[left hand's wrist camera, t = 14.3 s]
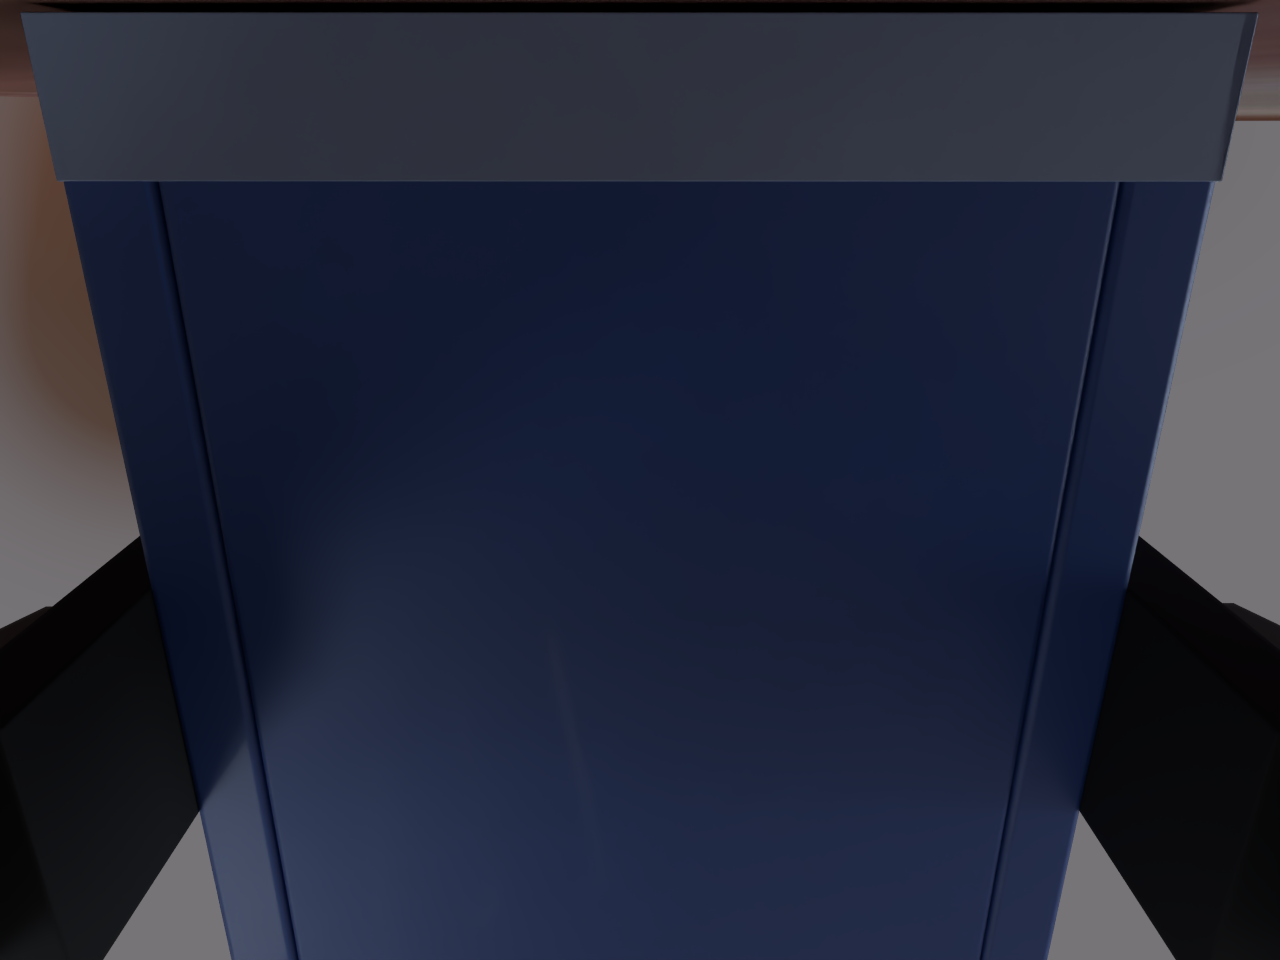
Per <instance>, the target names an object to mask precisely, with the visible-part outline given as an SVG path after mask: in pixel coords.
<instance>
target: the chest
mask: <svg viewBox="0 0 1280 960" xmlns="http://www.w3.org/2000/svg"><path fill="white" fill-rule="evenodd" d="M20 14H21V19H22V23H23V28H24V33H25V37H26V42H27V46H28V51H29V55H30V60H31V65H32V69H33V74H34V78H35V83H36V88H37V92H38V97H39V101H40V106H41V110H42V115H43V120H44V124H45V129H46V133H47V138H48V142H49V147H50V152H51V156H52V161H53V165H54V170H55V175H56V179H57V181H64V185H65V190H66V195H67V199H68V204H69V208H70V213H71V218H72V222H73V227H74V232H75V236H76V241H77V246H78V250H79V255H80V259H81V264H82V269H83V273H84V278H85V283H86V287H87V292H88V296H89V301H90V306H91V310H92V315H93V320H94V324H95V329H96V334H97V338H98V343H99V347H100V352H101V357H102V361H103V366H104V371H105V375H106V380H107V384H108V389H109V394H110V398H111V403H112V408H113V412H114V417H115V422H116V426H117V431H118V435H119V440H120V445H121V449H122V454H123V459H124V463H125V468H126V473H127V477H128V482H129V486H130V491H131V496H132V500H133V505H134V510H135V514H136V519H137V523H138V528H139V533H140V537H141V542H142V547H143V551H144V556H145V561H146V565H147V570H148V574H149V579H150V584H151V588H152V593H153V598H154V602H155V607H156V611H157V616H158V621H159V625H160V630H161V635H162V639H163V644H164V649H165V653H166V658H167V662H168V667H169V672H170V676H171V681H172V686H173V690H174V695H175V699H176V704H177V709H178V713H179V718H180V723H181V727H182V732H183V737H184V741H185V746H186V750H187V755H188V760H189V764H190V769H191V774H192V778H193V783H194V788H195V792H196V797H197V801H198V806H199V811H200V815H201V820H202V825H203V829H204V834H205V838H206V843H207V848H208V852H209V857H210V861H211V866H212V871H213V875H214V880H215V884H216V889H217V894H218V899H219V903H220V908H221V913H222V917H223V922H224V926H225V931H226V936H227V940H228V945H229V950H230V954H231V959H232V960H1047V957H1048V953H1049V948H1050V943H1051V939H1052V934H1053V929H1054V925H1055V920H1056V916H1057V911H1058V906H1059V902H1060V897H1061V893H1062V888H1063V883H1064V879H1065V874H1066V869H1067V865H1068V860H1069V855H1070V851H1071V846H1072V842H1073V837H1074V832H1075V828H1076V823H1077V818H1078V814H1079V809H1080V805H1081V800H1082V795H1083V791H1084V786H1085V781H1086V777H1087V772H1088V768H1089V763H1090V758H1091V754H1092V749H1093V744H1094V740H1095V735H1096V731H1097V726H1098V721H1099V717H1100V712H1101V707H1102V703H1103V698H1104V694H1105V689H1106V684H1107V680H1108V675H1109V670H1110V666H1111V661H1112V657H1113V652H1114V647H1115V643H1116V638H1117V633H1118V629H1119V624H1120V619H1121V615H1122V610H1123V606H1124V601H1125V596H1126V592H1127V587H1128V582H1129V578H1130V573H1131V569H1132V564H1133V559H1134V555H1135V550H1136V545H1137V541H1138V536H1139V532H1140V527H1141V522H1142V518H1143V513H1144V508H1145V504H1146V499H1147V495H1148V490H1149V485H1150V481H1151V476H1152V471H1153V467H1154V462H1155V457H1156V453H1157V448H1158V443H1159V439H1160V434H1161V430H1162V425H1163V420H1164V416H1165V411H1166V407H1167V402H1168V397H1169V393H1170V388H1171V383H1172V379H1173V374H1174V370H1175V365H1176V360H1177V356H1178V351H1179V346H1180V342H1181V337H1182V332H1183V328H1184V323H1185V319H1186V314H1187V309H1188V305H1189V300H1190V296H1191V291H1192V286H1193V282H1194V277H1195V272H1196V268H1197V263H1198V259H1199V254H1200V249H1201V245H1202V240H1203V235H1204V231H1205V226H1206V222H1207V217H1208V212H1209V208H1210V203H1211V198H1212V194H1213V189H1214V185H1215V182H1220V181H1222V178H1223V174H1224V169H1225V165H1226V160H1227V155H1228V151H1229V146H1230V142H1231V137H1232V132H1233V128H1234V123H1235V119H1236V114H1237V110H1238V105H1239V101H1240V96H1241V91H1242V87H1243V82H1244V78H1245V73H1246V69H1247V64H1248V59H1249V55H1250V50H1251V46H1252V41H1253V37H1254V32H1255V27H1256V23H1257V18H1258V13H1257V12H21V13H20Z"/></svg>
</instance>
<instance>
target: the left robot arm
mask: <svg viewBox="0 0 1280 960" xmlns="http://www.w3.org/2000/svg"><path fill="white" fill-rule="evenodd" d="M1079 811H1080V812H1081V814H1082V815H1083V817H1084V819H1085V820H1086V822H1087V823H1088V825H1089V826H1090V828H1091V829H1092V831H1093V832H1094V834H1095V836H1096V837H1097V839H1098V840H1099V842H1100V843H1101V845H1102V846H1103V848H1104V849H1105V851H1106V853H1107V854H1108V856H1109V857H1110V859H1111V860H1112V862H1113V863H1114V865H1115V866H1116V868H1117V869H1118V871H1119V873H1120V874H1121V876H1122V877H1123V879H1124V880H1125V882H1126V883H1127V885H1128V887H1129V888H1130V890H1131V891H1132V893H1133V894H1134V896H1135V897H1136V899H1137V900H1138V902H1139V904H1140V905H1141V907H1142V908H1143V910H1144V911H1145V913H1146V914H1147V916H1148V917H1149V919H1150V921H1151V922H1152V924H1153V925H1154V927H1155V928H1156V930H1157V931H1158V933H1159V934H1160V936H1161V938H1162V939H1163V941H1164V942H1165V944H1166V945H1167V947H1168V948H1169V950H1170V951H1171V953H1172V955H1173V956H1174V958H1175V959H1176V960H1280V625H1278V624H1276V623H1274V622H1272V621H1270V620H1267V619H1265V618H1263V617H1261V616H1259V615H1257V614H1255V613H1253V612H1251V611H1249V610H1247V609H1245V608H1242V607H1240V606H1238V605H1236V604H1234V603H1221V602H1220V601H1219V600H1218V599H1216V598H1215V597H1214V596H1213V595H1211V594H1210V593H1209V592H1208V591H1206V590H1205V589H1204V588H1203V587H1201V586H1200V585H1199V584H1198V583H1197V582H1195V581H1194V580H1193V579H1192V578H1190V577H1189V576H1188V575H1187V574H1185V573H1184V572H1183V571H1182V570H1181V569H1179V568H1178V567H1177V566H1176V565H1174V564H1173V563H1172V562H1171V561H1169V560H1168V559H1167V558H1166V557H1164V556H1163V555H1162V554H1161V553H1160V552H1158V551H1157V550H1156V549H1155V548H1153V547H1152V546H1151V545H1150V544H1148V543H1147V542H1146V541H1145V540H1143V539H1142V538H1141V537H1140V536H1138V541H1137V545H1136V550H1135V555H1134V559H1133V564H1132V569H1131V573H1130V578H1129V582H1128V587H1127V592H1126V596H1125V601H1124V606H1123V610H1122V615H1121V619H1120V624H1119V629H1118V633H1117V638H1116V643H1115V647H1114V652H1113V657H1112V661H1111V666H1110V670H1109V675H1108V680H1107V684H1106V689H1105V694H1104V698H1103V703H1102V707H1101V712H1100V717H1099V721H1098V726H1097V731H1096V735H1095V740H1094V744H1093V749H1092V754H1091V758H1090V763H1089V768H1088V772H1087V777H1086V781H1085V786H1084V791H1083V795H1082V800H1081V805H1080V809H1079ZM198 812H199V806H198V801H197V797H196V792H195V788H194V783H193V778H192V774H191V769H190V764H189V760H188V755H187V750H186V746H185V741H184V737H183V732H182V727H181V723H180V718H179V713H178V709H177V704H176V699H175V695H174V690H173V686H172V681H171V676H170V672H169V667H168V662H167V658H166V653H165V649H164V644H163V639H162V635H161V630H160V625H159V621H158V616H157V611H156V607H155V602H154V598H153V593H152V588H151V584H150V579H149V574H148V570H147V565H146V561H145V556H144V551H143V547H142V542H141V537H140V536H139V537H138V538H137V539H135V540H134V541H133V542H132V543H130V544H129V545H128V546H127V547H126V548H124V549H123V550H122V551H121V552H119V553H118V554H117V555H116V556H114V557H113V558H112V559H111V560H109V561H108V562H107V563H106V564H105V565H103V566H102V567H101V568H100V569H98V570H97V571H96V572H95V573H93V574H92V575H91V576H90V577H88V578H87V579H86V580H85V581H84V582H82V583H81V584H80V585H79V586H77V587H76V588H75V589H74V590H72V591H71V592H70V593H69V594H67V595H66V596H65V597H64V598H62V599H61V600H60V601H59V602H58V603H56V604H55V605H54V606H53V607H44V608H42V609H40V610H38V611H36V612H34V613H32V614H30V615H28V616H26V617H23V618H21V619H19V620H17V621H15V622H13V623H11V624H9V625H7V626H5V627H3V628H1V629H0V960H103V959H104V957H105V956H106V954H107V953H108V951H109V950H110V948H111V947H112V945H113V944H114V942H115V941H116V939H117V937H118V936H119V934H120V933H121V931H122V930H123V928H124V927H125V925H126V924H127V922H128V920H129V919H130V917H131V916H132V914H133V913H134V911H135V910H136V908H137V907H138V905H139V903H140V902H141V900H142V899H143V897H144V896H145V894H146V893H147V891H148V890H149V888H150V886H151V885H152V883H153V882H154V880H155V879H156V877H157V876H158V874H159V873H160V871H161V869H162V868H163V866H164V865H165V863H166V862H167V860H168V859H169V857H170V856H171V854H172V852H173V851H174V849H175V848H176V846H177V845H178V843H179V842H180V840H181V839H182V837H183V835H184V834H185V832H186V831H187V829H188V828H189V826H190V825H191V823H192V822H193V820H194V818H195V817H196V815H197V814H198Z"/></svg>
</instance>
